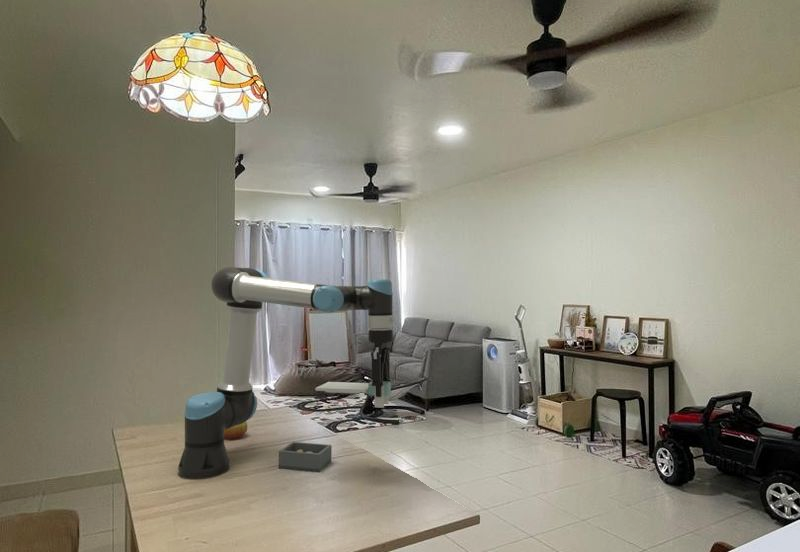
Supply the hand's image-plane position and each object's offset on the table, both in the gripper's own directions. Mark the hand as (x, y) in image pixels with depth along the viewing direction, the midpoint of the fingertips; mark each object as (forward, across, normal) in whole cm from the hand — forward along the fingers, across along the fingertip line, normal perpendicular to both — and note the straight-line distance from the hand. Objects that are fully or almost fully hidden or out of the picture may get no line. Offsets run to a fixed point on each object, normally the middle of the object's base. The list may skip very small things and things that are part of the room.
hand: (381, 405), depth 152 cm
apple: (+21, +25, +66) cm, 74 cm away
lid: (-3, 0, +8) cm, 9 cm away
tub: (+21, +4, +27) cm, 34 cm away
